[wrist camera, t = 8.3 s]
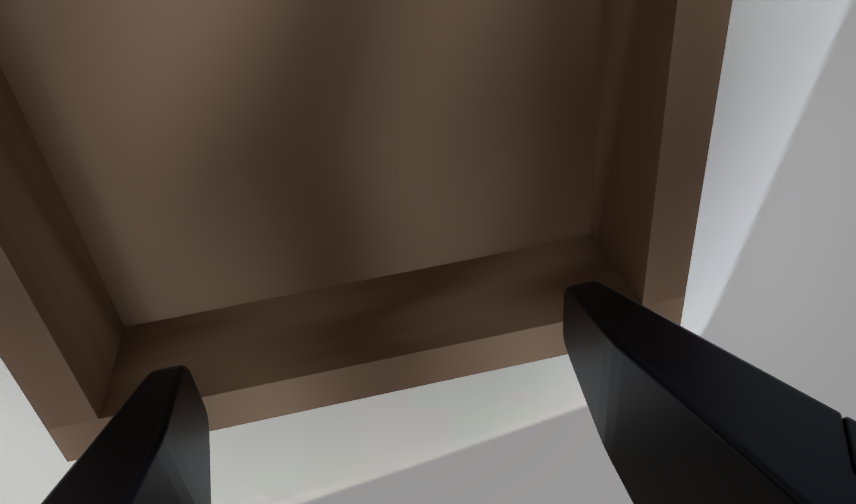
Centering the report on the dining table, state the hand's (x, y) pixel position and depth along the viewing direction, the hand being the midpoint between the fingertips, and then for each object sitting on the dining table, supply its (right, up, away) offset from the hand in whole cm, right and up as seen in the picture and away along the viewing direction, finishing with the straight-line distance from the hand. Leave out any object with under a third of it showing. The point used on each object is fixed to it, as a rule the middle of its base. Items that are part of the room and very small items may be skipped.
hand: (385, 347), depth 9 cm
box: (-2, +5, +8) cm, 10 cm away
